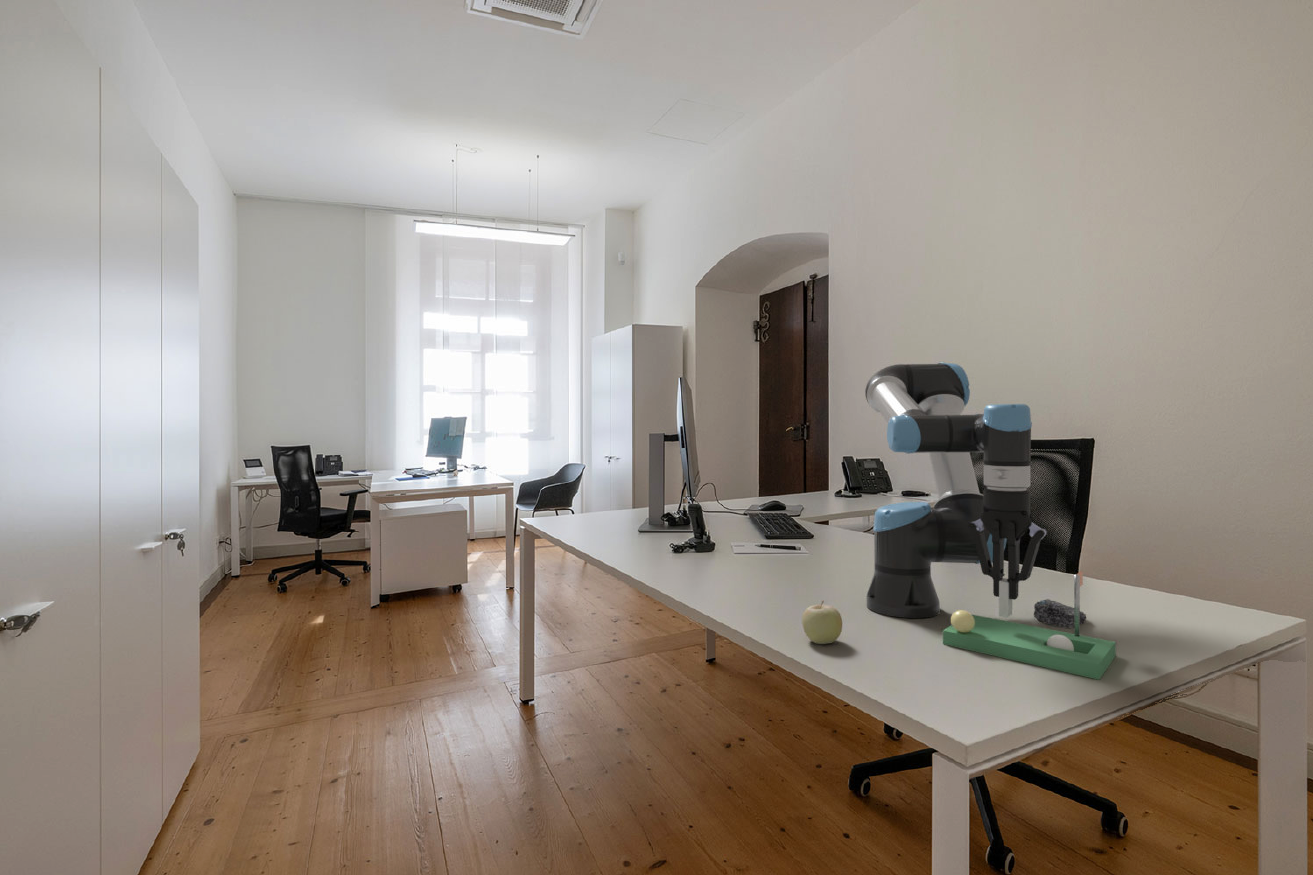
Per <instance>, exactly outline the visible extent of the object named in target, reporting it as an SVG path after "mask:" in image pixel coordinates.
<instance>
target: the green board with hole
mask: <svg viewBox="0 0 1313 875" xmlns="http://www.w3.org/2000/svg"><path fill="white" fill-rule="evenodd" d="M970 614H971V615H972V616H973V617H974V620H975V626H974V628H973V629H972V630H971V631H970V632H967V633H962V632H959V631H957V630H956V629H954V627H953V626H952V624H951V625H950V626H948V627H946V628H945V629H943V630H942V645H946V646H950V647H955V648H958V649H959V648H960V649H964V650H968V651H972V652H977V653H981V654H986V655H989V656H994V657H999V658H1001V659H1002V658H1003V659H1007V660H1011V661H1016V662H1021V663H1024V664H1025V663H1026V664H1028V665H1034V666H1037V667H1042V668H1047V669H1051V670H1056V671H1060V672H1064V673H1068V674H1073V675H1078V676H1080V677H1087V678H1091V679H1094V680H1099V681H1100V679H1101V678H1102V677H1103V675H1104V673H1105V672H1106V670H1107V669H1108V668H1109V667H1110V664H1112V662H1113V661H1114V659H1115V657H1116V651H1117V650H1116V641H1113V640H1108V639H1102V638H1097V637H1092V636H1087V635H1081V634H1080V636H1079V637H1077V636H1074V633H1071V632H1066V631H1060V630H1056V629H1049V628H1045V627H1041V626H1040V627H1039V626H1034V625H1029V624H1024V623H1019V622H1018V623H1017V622H1013V621H1008V620H1003V619H998V618H992V617H986V616H982V615H977V614H976V615H975V614H972V613H970ZM1053 635H1063V636H1065V637H1067V638H1068V639H1069V640H1070V641H1071V642H1072V644H1073V646H1074V651H1069V650H1064V649H1060V648H1055V647H1050V646H1046V644H1047V640H1048V639H1049V638H1050V637H1051V636H1053Z"/></svg>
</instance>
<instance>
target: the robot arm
mask: <svg viewBox="0 0 1313 875" xmlns="http://www.w3.org/2000/svg"><path fill="white" fill-rule="evenodd" d="M970 390H971V389H970V380H969V378H968V375H967V373H966V371H965V369H964V367H962V366H961V365H959V364H957V363H947V362H938V363H917V364H916V363H911V364H910V363H909V364H904V363H903V364H902V363H900V364H893V365H889V366H886V367H883V368H881V369H879V370H878V371H876V372H875V373H874V374H873V375H872V376H871V377H870V379H869V380H868V381H867V383H866V386H865V389H864V391H865V394H864V395H865V400H866V401H867V404H868V405H869V406H870V407H871V409H873V410H874V411H876V412H877V413H880V414H881V416H882V417H883V419H884V420H885V421H886V423H887V427H886V439H887V443H888V444H887V445H888V448H889V449H890V451H891V452H894V453H905V454H918V453H919V454H921V453H922V454H925V453H926V454H927V453H928V454H929V459H930V462H931V468H932V473H933V477H934V481H935V486H936V487H935V488H936V492H937V497H938V499H937V500H936V501H935V503H934V505H933V508H932V507H931V505H930V503H929V502H926V501H915V502H914V501H908V502H907V501H906V502H897V503H891V504H886V505H882V506H880V507H878V508H877V509H876V510H875V513H874V520H873V528H872V530H873V532H874V533H873V534H874V535H873V538H874V539H873V540H874V541H873V544H874V546H873V548H874V552H873V553H874V556H873V557H874V573H873V575H872V579H871V582H870V585H869V586H868V591H867V594H866V607H867V608H868V609H870V610H871V611H873V612H875V613H878V614H881V615H884V616H888V617H889V616H890V617H896V618H903V619H904V618H906V619H924V618H925V619H926V618H931V617H935V616H937V615H939V614H940V610H941V608H940V607H941V606H940V605H941V604H940V599H939V597H938V596H939V595H938V593H937V590H936V588H935V585H934V581H933V578H932V573H931V569H932V568H931V565H932V563H951V564H952V563H953V564H955V563H957V564H975V565H980V568H981V569H980V570H981V573H982V574H983V575H985V576H989V577H991V578H992V580H993V588H992V589H993V590H992V591H993V593H992V594H993V596H994V597H997V598H998V616H999V617H1002V618H1010V617H1011V616H1012V615H1013V600H1014V601H1015V600H1017V599H1018V598H1019V584H1020V582H1021V581H1022V582H1023V581H1024V582H1025V581H1027V580H1028V579H1029V578H1030V577H1031V575H1032V572H1033V568H1034V566H1035V565H1034V564H1035V561H1036V557H1037V555H1038V551H1039V548H1040V544H1041V541H1042V540H1043V539H1044V538H1045V536H1047V534H1048V530H1047V528H1044V527H1043V528H1041V527H1040V526H1038V525H1037V524H1036V523H1034V519H1033V518H1034V517H1032V515H1031V491H1030V490H1028V488H1029V487H1031V450H1032V449H1031V446H1032V444H1031V442H1032V440H1031V439H1032V426H1033V422H1032V417H1031V408H1030V406H1028V404H1024V403H1014V404H1013V403H1001V404H997V403H996V404H987V405H986V406H985V407H984V409H983V413H982V414H981V413H975V414H962V413H963V411H964V410H965V407H966V406H967V405H968V404H969V401H970V400H969V399H970V393H971V391H970ZM971 453H983V486H986V487H985V488H984V489H983V490H982V491H983V492H982V493H983V494H982V493H980V489H979V485H978V480H977V476H976V474H975V473H976V472H975V470H974V466H973V461H972V457H971ZM1027 531H1029V536H1030V537H1031V538H1030V540H1029V542H1028V544H1027V549H1026V552H1025V555H1024V559H1023V562H1022V565H1021V569H1020V543H1021V538H1022V536H1024V535H1025V533H1026V532H1027ZM1006 545H1007V547H1008V548H1007V550H1008V552H1007V556H1008V557H1007V558H1008V560H1007V564H1008V565H1007V578H1005V575H1006V574H1005V573H1004V572H1005V570H1004V569H1005V567H1004V566H1005V549H1006ZM1003 577H1004V578H1003Z"/></svg>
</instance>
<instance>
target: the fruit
mask: <svg viewBox="0 0 1313 875" xmlns="http://www.w3.org/2000/svg"><path fill="white" fill-rule="evenodd" d="M824 602H825V601H824V600H821V604H813V605H810V606H809V607H807V608H806V609H805V610H804V611H803V613H802V617H801V618H802V619H801V624H802V627H803V630H804V633H805V634H806V637H807V638H808V639H809V640H810V641H811V642H813V643H815V644H816V645H826V644H831V643H834V642H835V641H837V640H838V638H839V637H840V636H841V634H842V632H843V619H842V615H841V613H840V612H839V611H838V609H837V608H835V607H834V606H832V605H827V604H824Z"/></svg>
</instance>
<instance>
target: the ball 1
mask: <svg viewBox="0 0 1313 875" xmlns="http://www.w3.org/2000/svg"><path fill="white" fill-rule="evenodd" d="M971 614H972V613H970V612H969V611H967V610H965V609H960V610H956V611H954V612H953V613H952V614H951V616H950V624H951V625H952V626H953V627H954V629H956V630H957V631H959V632H962V633H967V632H970V631H971V630H972V629H973V628H974V626H975V620H974V617H973V616H972V615H973V614H972V615H971Z"/></svg>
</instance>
